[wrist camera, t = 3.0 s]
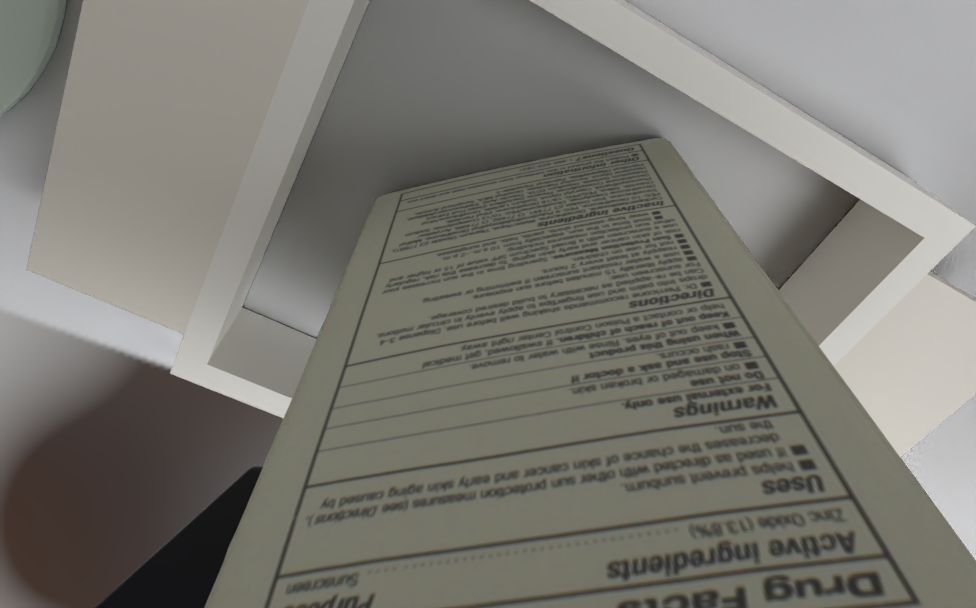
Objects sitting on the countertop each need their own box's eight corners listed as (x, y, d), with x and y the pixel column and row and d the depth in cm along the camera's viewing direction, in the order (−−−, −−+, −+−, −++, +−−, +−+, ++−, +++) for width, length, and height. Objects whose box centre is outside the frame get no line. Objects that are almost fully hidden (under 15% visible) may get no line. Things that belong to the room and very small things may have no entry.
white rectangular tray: (1014, 243, 15) (1091, 296, 13) (713, 527, 19) (735, 596, 17) (208, -261, 10) (144, -292, 9) (77, 259, 15) (17, 312, 13)
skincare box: (425, 357, 16) (256, 1191, 6) (371, 188, 14) (-51, 1026, 4) (700, 314, 15) (1091, 1209, 5) (687, 126, 13) (1335, 1002, 3)
